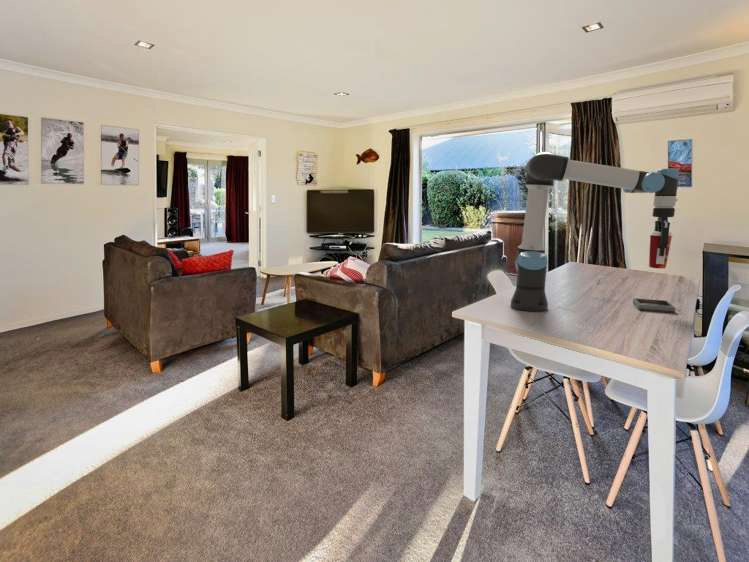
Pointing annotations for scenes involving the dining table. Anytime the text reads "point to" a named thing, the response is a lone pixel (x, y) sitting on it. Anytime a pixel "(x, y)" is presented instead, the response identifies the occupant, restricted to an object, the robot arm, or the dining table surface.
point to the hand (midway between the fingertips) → (657, 262)
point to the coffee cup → (653, 249)
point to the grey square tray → (653, 305)
